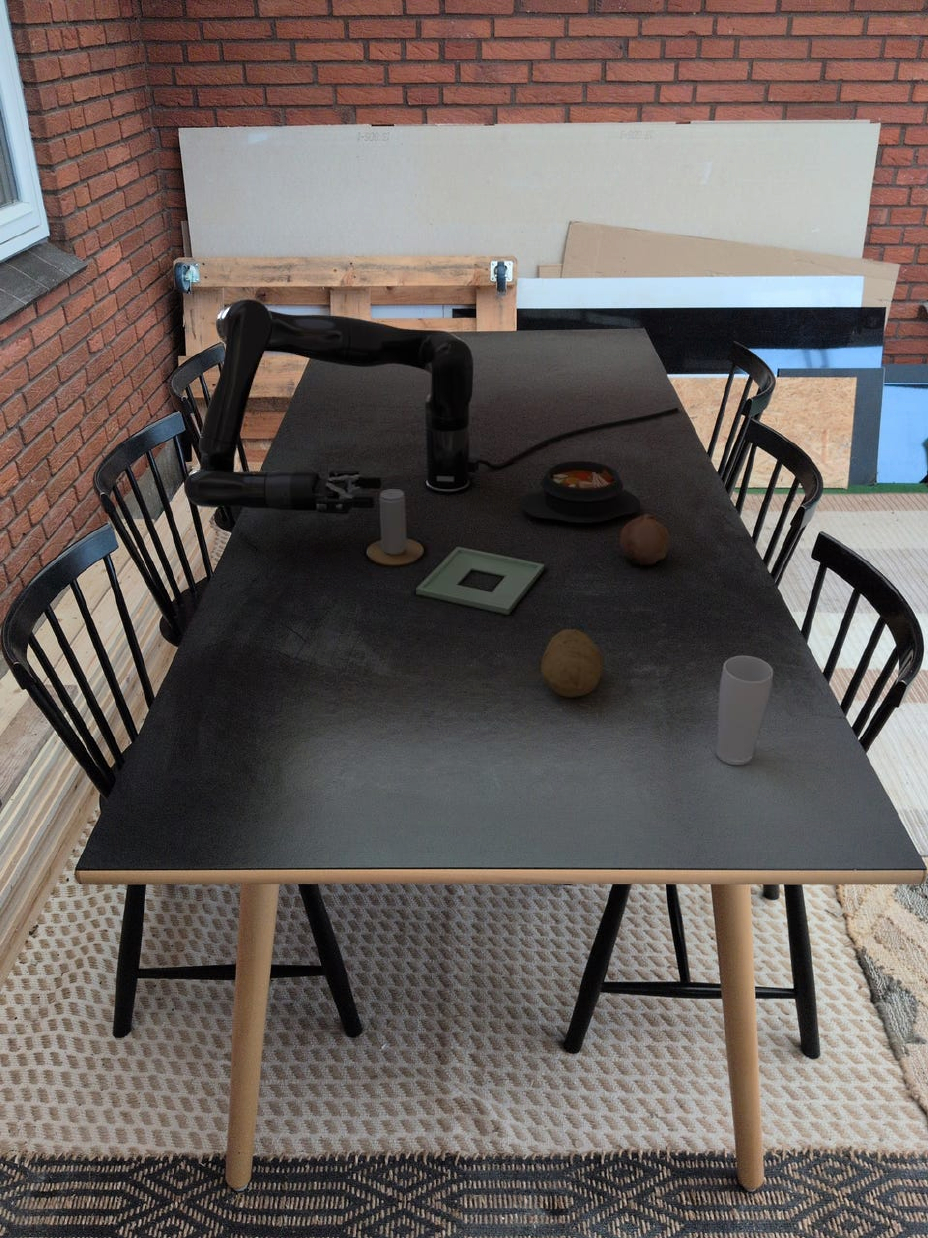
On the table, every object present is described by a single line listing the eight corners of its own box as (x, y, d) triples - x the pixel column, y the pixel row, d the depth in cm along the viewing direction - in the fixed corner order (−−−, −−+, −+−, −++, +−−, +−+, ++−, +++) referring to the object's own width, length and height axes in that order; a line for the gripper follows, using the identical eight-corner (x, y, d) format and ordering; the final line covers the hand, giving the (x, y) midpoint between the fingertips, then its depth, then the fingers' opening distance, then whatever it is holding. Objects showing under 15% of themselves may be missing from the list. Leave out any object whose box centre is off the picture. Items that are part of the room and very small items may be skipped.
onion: (637, 565, 203) (643, 514, 202) (677, 569, 196) (682, 516, 195) (606, 563, 196) (612, 510, 195) (646, 567, 189) (652, 512, 189)
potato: (597, 661, 168) (601, 619, 164) (605, 712, 156) (609, 669, 152) (537, 660, 169) (539, 618, 165) (540, 711, 157) (542, 668, 153)
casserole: (627, 490, 226) (631, 454, 221) (649, 528, 210) (653, 490, 206) (514, 495, 224) (515, 459, 219) (528, 534, 208) (529, 495, 203)
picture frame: (457, 551, 201) (457, 546, 201) (544, 569, 195) (544, 564, 194) (416, 594, 187) (416, 588, 187) (508, 614, 181) (508, 609, 180)
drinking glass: (703, 742, 150) (716, 655, 142) (749, 739, 151) (764, 653, 143) (717, 772, 145) (731, 684, 137) (764, 769, 145) (781, 681, 137)
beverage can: (403, 557, 199) (401, 500, 192) (379, 554, 199) (376, 497, 193) (409, 545, 203) (407, 489, 196) (385, 543, 203) (383, 487, 197)
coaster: (383, 535, 207) (383, 533, 207) (433, 545, 204) (433, 543, 203) (356, 558, 199) (356, 557, 199) (407, 570, 195) (407, 568, 195)
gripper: (282, 487, 188) (370, 489, 187) (298, 457, 200) (381, 458, 199) (286, 524, 192) (373, 526, 191) (302, 492, 204) (383, 494, 203)
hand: (377, 492), depth 195 cm, fingers open, 8 cm apart
